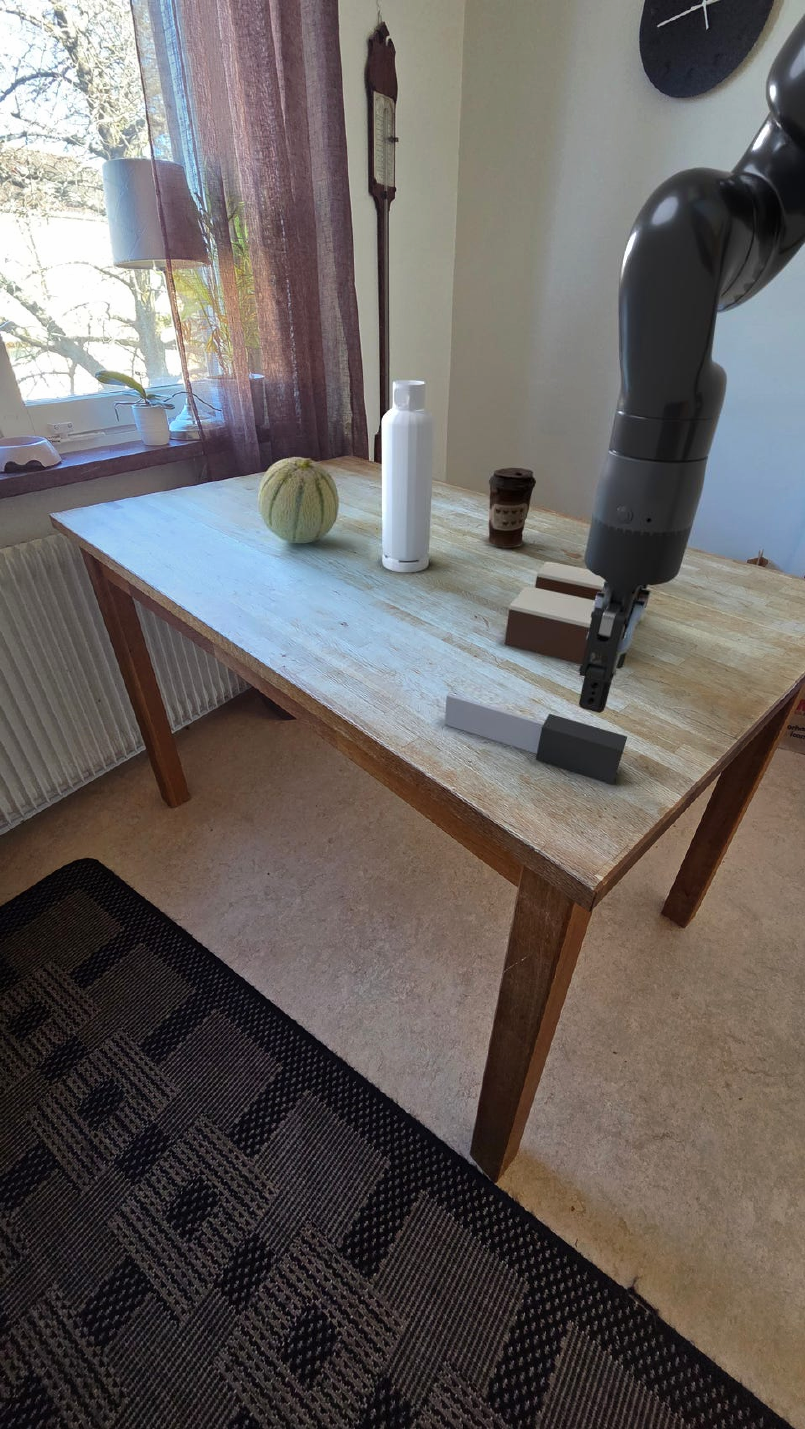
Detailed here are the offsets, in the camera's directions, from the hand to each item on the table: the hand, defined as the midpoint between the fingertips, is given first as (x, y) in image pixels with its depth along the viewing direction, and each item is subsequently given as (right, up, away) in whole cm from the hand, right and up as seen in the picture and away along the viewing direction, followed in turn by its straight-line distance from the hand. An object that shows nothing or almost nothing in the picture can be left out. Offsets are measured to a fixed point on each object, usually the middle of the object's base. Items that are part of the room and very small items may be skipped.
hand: (602, 685), depth 57 cm
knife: (-6, -6, +8) cm, 12 cm away
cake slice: (+7, +13, +35) cm, 38 cm away
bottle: (-18, +24, +49) cm, 57 cm away
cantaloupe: (-38, +30, +57) cm, 75 cm away
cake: (+2, +7, +27) cm, 28 cm away
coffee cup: (+1, +30, +57) cm, 65 cm away
